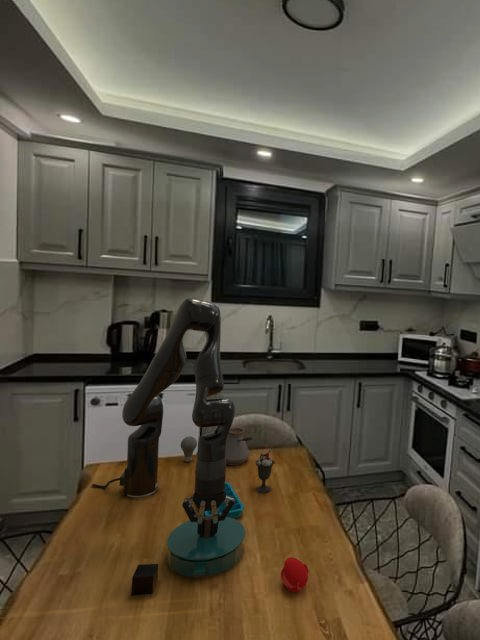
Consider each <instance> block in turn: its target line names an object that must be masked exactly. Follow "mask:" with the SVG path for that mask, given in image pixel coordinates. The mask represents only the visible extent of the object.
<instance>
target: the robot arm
mask: <svg viewBox="0 0 480 640" xmlns="http://www.w3.org/2000/svg"><path fill="white" fill-rule="evenodd" d="M221 319H222V317H221V310H220V307H219V306H218V304H216V303H214V302H211V301H208V300H207V301H206V300H201V299H198V298H194V297H187V298H185V299H183V301H182V302H181V303H180V305H179V306H178V308H177V310H176V313H175V314H174V317H173V320H172V322H171V324H170V326H169V329H168V331H167V333H166V334H165V335H166V336H165V338H164V339H163V340H162V343H161V345H160V346H159V348H158V350H157V352H156V353H155V355H154V356H153V358H152V359H151V362H150V363H149V365H148V368H147V370H146V371H145V373H144V374H143V376H142V378H141V379H140V381H139V383H138V384H137V385H136V387H135V389H134V390H133V391H132V392H131V394H130V395H129V397H128V398H127V399H126V400H125V403H124V404H123V408H122V410H121V411H122V413H121V416H122V421H123V422H124V424H125V425H127V426H128V427H138V428H136V430H135V431H133V432H132V433H131V434H129V435H128V437H127V449H126V450H127V451H126V453H127V454H126V458H127V459H126V467H125V468H124V470H123V473H122V474H121V475H120V476H119V477H117V478H114V479H111V480H109V481H107V483H106V484H105V485H100V484H96V483H92V484H91V487H95V488H99V489H105V488H108V486H110V484H112V483H114V482H117V481H118V482H119V487H123V497H128V498H130V499H142V498H147V497H149V496H153V495H155V494H156V493H157V492H158V486H159V481H158V472H159V447H160V437H161V435H162V431H163V419H164V404H163V400H162V398H161V397H160V396H159V395H160V394H161V393H162V392H164V391H166V390H167V389H168V388H169V387H170V386H172V385H173V384H174V383H175V382H176V381H177V380H178V379H179V377H180V375H181V374H182V372H183V371H184V369H185V367H186V365H187V360H188V359H187V352H186V349H185V345H184V336H185V334H186V332H187V331H195V332H201V333H204V334H205V343H204V345H203V346H202V347H203V348H202V349H201V351H200V352H199V354H198V355H197V357H196V359H195V363H194V366H193V367H194V368H193V370H194V381H195V399H194V403H193V407H192V413H191V419H192V422H193V424H194V425H195V426H196V427H197V428H199V429H200V428H202V429H203V428H213V427H215V428H214V430H212V431H208V432H206V433H203V434H202V435H200V436H199V438H198V441H197V454H196V455H197V458H196V462H195V471H194V475H195V476H194V489H195V491H194V493H193V494H192V496H191V497H189V498H188V497H186V498H184V499H183V501H182V504H181V506H182V508H183V511H184V512H185V514H186V516H187V517H188V519H189V520H190V521H191V522H197V524H198V528H197V534H198V535H200V537H203V521H204V520H203V517H204V516H205V514H204V512H205V511H208V510H209V511H212V516H213V523H212V536H215V534H217V531H218V522H219V521H224V520H225V518H226V516H227V515H228V513H229V511H230V510H231V508H232V506H233V505H234V501H235V497H228V496H226V492H225V482H226V474H227V473H226V472H227V464H226V442H227V440H228V438H229V430H230V429H232V425H233V422H234V419H235V415H236V406H235V403H234V402H233V400H232V399H230V398H227V397H225V398H213V399H212V398H211V399H207V398H209V397H212V396H215V395H217V394H220V393H221V392H222V391H223V390H224V386H225V382H224V376H223V369H222V363H221V335H222V334H221V333H222V332H221V331H222V329H221V327H222V320H221ZM224 500H225V505H226V507H225V508H224V510H223V512H222V513H221V514H219V506H220V505H221V504H222V503H223V501H224ZM194 504H195V506H196V507H197V509H199V510H198V513H197V512H196V510H195V509H194V506H193V505H194Z"/></svg>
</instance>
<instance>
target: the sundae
mask: <svg viewBox="0 0 480 640" xmlns="http://www.w3.org/2000/svg"><path fill="white" fill-rule="evenodd" d="M270 452H271V450H270V449H269V450H268V451H267V452H266V453H264V454H263V453H260V456H259V459H257V460H255V465H256V467H257V475H258V478H259V480H260V481H261V485H259V486H257V487H256V488H255V490H256V492H258V493H263V494H264V493H268V492H270V491H271V487H270V486H269V485H266V481H267V480H268V479H269V478H270V477H271V473H272V469H273V467H274V464H276V462H275V460H273V459H272V458H271V455H270Z"/></svg>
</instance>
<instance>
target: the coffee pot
mask: <svg viewBox="0 0 480 640" xmlns="http://www.w3.org/2000/svg"><path fill="white" fill-rule="evenodd" d="M245 432H246V431H245V429H244V428H242V427H233V428H232V427H231V428H230V430H229V434H228V437H227V441H226V465H229V466H238V465H242V464H243V463H245V462H246V461H247V460H248V459H249V457H250V451H249V447H248V445H247V443H246V442H249V444H251V442H250V441H251V440H253V442H255V441H256V440H255V439H254V437H250V436H248V437H244V433H245Z"/></svg>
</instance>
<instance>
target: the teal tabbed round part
mask: <svg viewBox="0 0 480 640" xmlns="http://www.w3.org/2000/svg"><path fill="white" fill-rule="evenodd" d="M243 545H244V541H243V542H242V543H241V544H240V545H239V546H238V547H237V548H236V549H235V550H233V551H231V552H230V553H228V554H225V555H223V556H220V557H217V558H213V559H208V560H186V559H182V558H179V557H177V556H175V555H173V554H172V553H171V552H170V551H169V549H168V548H167V564H168V566H169V569H170V570H172V571H173V572H175V573H176V574H178V575H180V576H185V577H190V578H199V577H201V578H203V577H210V576H216V575H218V574H221V573H224V572H225V571H227V570H229V569H230V568H232V567H233V566H235V565H236V563H238V562H239V561H240V559H241V557H242V555H243V547H244V546H243Z"/></svg>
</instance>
